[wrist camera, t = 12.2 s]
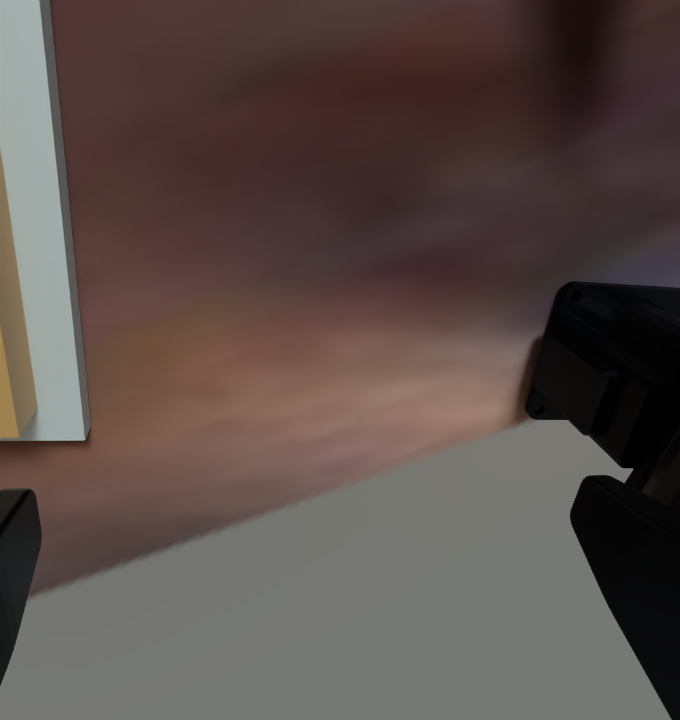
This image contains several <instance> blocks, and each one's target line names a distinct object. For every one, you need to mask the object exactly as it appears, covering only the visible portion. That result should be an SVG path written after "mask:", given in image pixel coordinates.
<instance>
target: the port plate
mask: <svg viewBox="0 0 680 720" xmlns="http://www.w3.org/2000/svg"><path fill="white" fill-rule="evenodd" d="M90 427H91V422H90V412H89V401H88V391H87V381H86V370H85V360H84V350H83V339H82V329H81V319H80V308H79V298H78V288H77V277H76V267H75V257H74V247H73V236H72V226H71V216H70V205H69V195H68V185H67V174H66V164H65V154H64V143H63V133H62V123H61V112H60V102H59V92H58V82H57V71H56V61H55V51H54V40H53V30H52V20H51V9H50V0H0V441H85V439H86V437H87V435H88V432H89V430H90Z"/></svg>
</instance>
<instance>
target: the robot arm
mask: <svg viewBox="0 0 680 720" xmlns="http://www.w3.org/2000/svg"><path fill="white" fill-rule="evenodd" d="M574 291H576V294H575V296H574V297H572V298H570V295H571V294H572V292H574ZM538 406H540V407H539V409H537V410H535V409H536V407H538ZM525 410H526V413H527V414H528V415H529V416H530V417H531V418H532V419H535V420H569V421H570V422H571V423H572V424H573V425H574V426H575V427H576V428H577V429H578V430H579V431H580V432H581V433H582V434H583V435H589V436H590V437H591V438H592V439H593V440H594V441H595V442H596V443H597V444H598V445H599V446H600V447H601V448H602V449H603V450H604V451H605V452H606V453H607V454H608V455H609V456H610V457H611V458H612V459H613V460H614V461H615V462H616V463H617V464H618V465H619V466H620V467H622V468H633V471H632V473H631V474H630V476H629V477H628V479H627V480H626V482H625V483H622V482H621V481H619V480H617V479H615V478H613V477H611V476H607V475H596V476H595V475H594V476H587V477H585V478H584V479H583V480H582V482H581V485H580V487H579V490H578V493H577V495H576V498H575V500H574V503H573V506H572V508H571V511H570V512H571V513H570V520H571V524H572V527H573V529H574V531H575V534H576V536H577V538H578V540H579V543H580V545H581V547H582V549H583V552H584V554H585V556H586V558H587V561H588V563H589V565H590V567H591V570H592V572H593V574H594V576H595V579H596V580H597V583H598V585H599V587H600V590H601V592H602V594H603V596H604V598H605V600H606V602H607V604H608V606H609V608H610V610H611V612H612V614H613V616H614V618H615V619H616V621H617V623H618V625H619V627H620V628H621V630H622V632H623V634H624V635H625V637H626V639H627V641H628V642H629V644H630V646H631V648H632V650H633V652H634V653H635V655H636V657H637V659H638V660H639V662H640V664H641V666H642V668H643V669H644V671H645V673H646V675H647V676H648V678H649V680H650V682H651V683H652V685H653V687H654V689H655V690H656V693H657V694H658V696H659V698H660V699H661V701H662V703H663V705H664V707H665V708H666V710H667V712H668V714H669V716H670V718H671V719H672V720H680V288H673V287H657V286H641V285H625V284H609V283H593V282H577V281H573V282H569V283H567V284H565V285H564V286H563V287H562V289H561V291H560V294H559V297H558V300H557V304H556V307H555V310H554V313H553V317H552V320H551V323H550V327H549V330H548V332H547V333H546V336H545V339H544V342H543V346H542V349H541V352H540V356H539V359H538V362H537V366H536V369H535V372H534V375H533V379H532V386H531V389H530V392H529V396H528V399H527V402H526V406H525ZM534 410H535V411H534ZM41 539H42V532H41V525H40V519H39V512H38V506H37V500H36V495H35V493H34V491H33V490H31V489H29V488H18V489H2V490H0V685H1V682H2V680H3V677H4V675H5V672H6V670H7V667H8V664H9V661H10V658H11V655H12V652H13V650H14V646H15V643H16V639H17V635H18V632H19V628H20V624H21V620H22V617H23V613H24V609H25V605H26V601H27V597H28V593H29V590H30V586H31V582H32V578H33V574H34V570H35V566H36V563H37V559H38V555H39V551H40V547H41Z"/></svg>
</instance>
